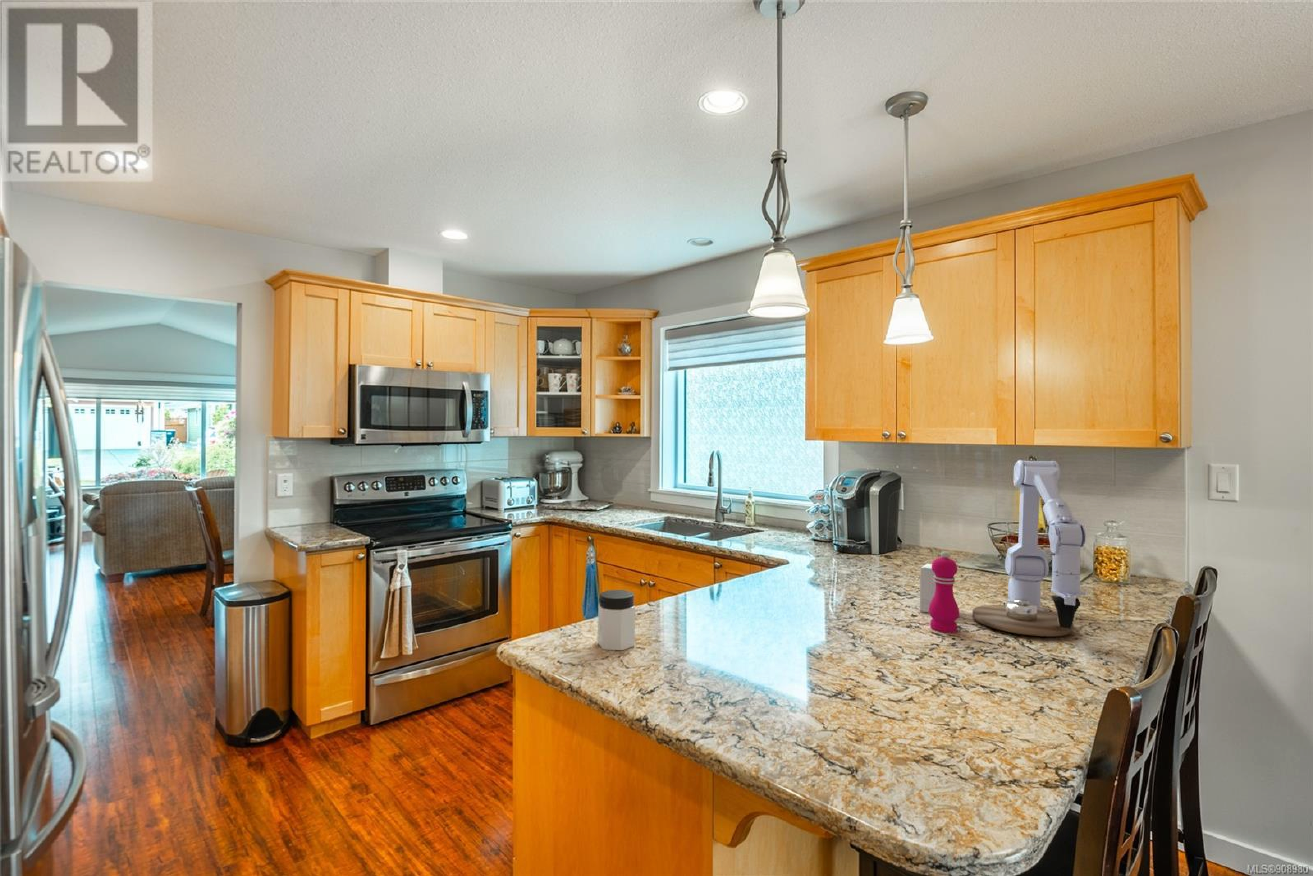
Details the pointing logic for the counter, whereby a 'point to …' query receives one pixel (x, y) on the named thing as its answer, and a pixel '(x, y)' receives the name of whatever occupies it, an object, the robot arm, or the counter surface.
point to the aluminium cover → (1021, 610)
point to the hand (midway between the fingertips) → (1065, 627)
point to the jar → (616, 620)
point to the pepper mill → (944, 595)
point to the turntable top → (1020, 622)
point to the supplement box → (926, 587)
